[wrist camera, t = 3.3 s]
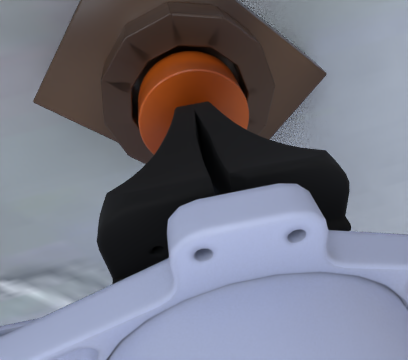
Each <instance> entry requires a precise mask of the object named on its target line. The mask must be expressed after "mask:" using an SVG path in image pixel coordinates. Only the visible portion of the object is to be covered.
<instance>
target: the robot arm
mask: <svg viewBox="0 0 408 360" xmlns="http://www.w3.org/2000/svg"><path fill="white" fill-rule="evenodd" d="M348 196H349V180H348V178H347V176H346V174H345V172H344V171H343V170H342V168H341V167H340V166H339V164H338V163H337V162H336V161H335V160H334V159H333V158H332V157H331V155H330V154H329V153H328V152H327V151H326V150H317V149H307V148H300V147H295V146H290V145H285V144H282V143H278V142H275V141H272V140H269V139H266V138H263V137H261V136H259V135H256V134H254V133H252V132H250V131H248V130H246V129H244V128H243V127H241V126H239V125H238V124H236V123H235V122H233V121H232V120H230V119H229V118H228V117H226V116H225V115H224V114H223V113H221V112H220V111H219V110H218V109H217V108H216V107H215V106H213V105H212V104H211V103H210V102H209V101H207V102H202V103H196V104H191V105H186V106H180V107H176V109H175V110H174V116H173V119H172V122H171V125H170V127H169V130H168V132H167V134H166V136H165V138H164V140H163V142H162V143H161V145H160V147H159V148H158V150H157V151H156V153H155V154H154V156H153V157H152V158H151V159H150V160H149V162H148V163H147V164H146V165H145V166H144V167H143V168H142V169H141V170H140V171H139V172H137V173H136V174H135V175H134V176H133V177H131V178H130V179H129V180H127V181H126V182H124V183H123V184H121V185H120V186H118V187H116V188H115V189H113V190H112V191H110V192H108V193H107V194H106V197H105V200H104V203H103V206H102V210H101V213H100V218H99V225H98V236H97V244H98V247H99V251H100V253H101V255H102V257H103V259H104V261H105V263H106V265H107V267H108V269H109V271H110V274H111V276H112V278H113V284H112V285H110V286H108V287H106V288H104V289H101V290H99V291H97V292H95V293H93V294H91V295H89V296H86V297H84V298H82V299H80V300H78V301H76V302H74V303H72V304H69V305H67V306H65V307H63V308H61V309H59V310H57V311H54V312H52V313H50V314H48V315H46V316H44V317H42V318H38V319H33V320H28V321H23V322H18V323H14V324H9V325H4V326H0V360H408V234H390V233H372V232H355V231H350V230H351V225H350V223H349V221H348V220H347V218H346V217H345V214H346V208H347V202H348Z"/></svg>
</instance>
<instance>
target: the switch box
mask: <svg viewBox="0 0 408 360" xmlns="http://www.w3.org/2000/svg"><path fill="white" fill-rule="evenodd" d="M183 51H199V52H203V53H207V54H210V55H212V56H214V57H216V58H218V59H219V60H221V61H222V62H223V63H224V64H225V65H226V66H227V67H228V68H229V69H230V70H231V72H232V73H233V75H234V77H235V79H236V81H237V82H238V84H239V86H240V88H241V90H242V92H243V93H244V95H245V97H246V100H247V103H248V108H249V122H248V127H247V130H248V131H250V132H252V133H254V134H256V135H259V136H261V137H263V138H266V139H270V138H271V137H272V136H273V135H274V134H275V132H276V131H277V130H278V129H279V128H280V127H281V126H282V125H283V123H284V122H285V121H286V120H287V119H288V118H289V117H290V116H291V114H292V113H293V112H294V111H295V110H296V109H297V108H298V106H299V105H300V104H301V103H302V102H303V101H304V100H305V99H306V97H307V96H308V95H309V94H310V93H311V92H312V91H313V89H314V88H315V87H316V86H317V85H318V84H319V83H320V82H321V80H322V79H323V78H324V77H325V76H326V72H325V71H324V70H323V69H322V68H320V67H319V66H318V65H317V64H316V63H315V62H314V61H313V60H312V59H311V58H310V57H308V56H307V55H306V54H305V53H303V52H302V51H301V50H300V49H298V48H297V47H296V46H295V45H293V44H292V43H291V42H290V41H288V40H287V39H286V38H285V37H283V36H282V35H281V34H280V33H278V32H277V31H276V30H275V29H273V28H272V27H271V26H270V25H268V24H267V23H266V22H265V21H263V20H262V19H261V18H260V17H258V16H257V15H256V14H255V13H253V12H252V11H251V10H250V9H248V8H247V7H246V6H245V5H243V4H242V3H241V2H240V1H238V0H80V2H79V5H78V7H77V9H76V11H75V13H74V15H73V17H72V19H71V22H70V24H69V26H68V28H67V30H66V32H65V34H64V37H63V39H62V41H61V43H60V45H59V47H58V49H57V51H56V54H55V56H54V58H53V60H52V62H51V64H50V66H49V68H48V71H47V73H46V75H45V77H44V79H43V81H42V83H41V86H40V88H39V90H38V92H37V94H36V96H35V98H34V100H33V101H34V103H36V104H38V105H40V106H42V107H44V108H46V109H49V110H51V111H53V112H55V113H57V114H59V115H61V116H63V117H65V118H68V119H70V120H72V121H74V122H76V123H78V124H80V125H82V126H85V127H87V128H89V129H91V130H93V131H95V132H97V133H99V134H101V135H104V136H106V137H108V138H110V139H112V140H114V141H116V142H118V143H119V144H120V145H121V146H122V148H123V149H124V150H125V152H126V153H127V155H128V156H130V157H132V158H134V159H136V160H138V161H141V162H143V163H145V164H147V163H148V162H149V160H150V159H151V158H152V157H153V156H154V154H153V153H152V152H150V150H149V149H148V148H147V147H146V145H145V143H144V142H143V140H142V137H141V135H140V131H139V124H138V94H139V89H140V86H141V83H142V81H143V79H144V77H145V75H146V74H147V72H148V71H149V70H150V69H151V68H152V67H153V65H155V64H156V63H157V62H158V61H160V60H161V59H163V58H165V57H167V56H169V55H171V54H174V53H178V52H183Z"/></svg>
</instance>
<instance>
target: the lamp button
mask: <svg viewBox="0 0 408 360" xmlns="http://www.w3.org/2000/svg"><path fill="white" fill-rule="evenodd" d="M207 101H209V102H210V103H211V104H212V105H213V106H215V107H216V108H217V109H218V110H219V111H220V112H221V113H223V114H224V115H225V116H226V117H228V118H229V119H230V120H232V121H233V122H235V123H236V124H238V125H239V126H241V127H243V128H244V129H246V130H247V127H248V122H249V108H248V103H247V100H246V97H245V95H244V93H243V92H242V90H241V88H240V86H239V84H238V82H237V81H236V79H235V77H234V75H233V73H232V72H231V70H230V69H229V68H228V67H227V66H226V65H225V64H224V63H223V62H222V61H221V60H219V59H218V58H216V57H214V56H212V55H210V54H207V53H203V52H199V51H183V52H178V53H174V54H171V55H169V56H167V57H165V58H163V59H161V60H160V61H158V62H157V63H156V64H155V65H153V67H152V68H151V69H150V70H149V71H148V72H147V74H146V75H145V77H144V79H143V81H142V83H141V86H140V89H139V94H138V124H139V131H140V135H141V137H142V140H143V142H144V143H145V145H146V147H147V148H148V149H149V150H150V152H152V153H153V154H155V153H156V151H157V150H158V148H159V147H160V145H161V143H162V142H163V140H164V138H165V136H166V134H167V132H168V130H169V127H170V125H171V122H172V119H173V116H174V110H175V109H176V107H180V106H186V105H191V104H196V103H202V102H207Z"/></svg>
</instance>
